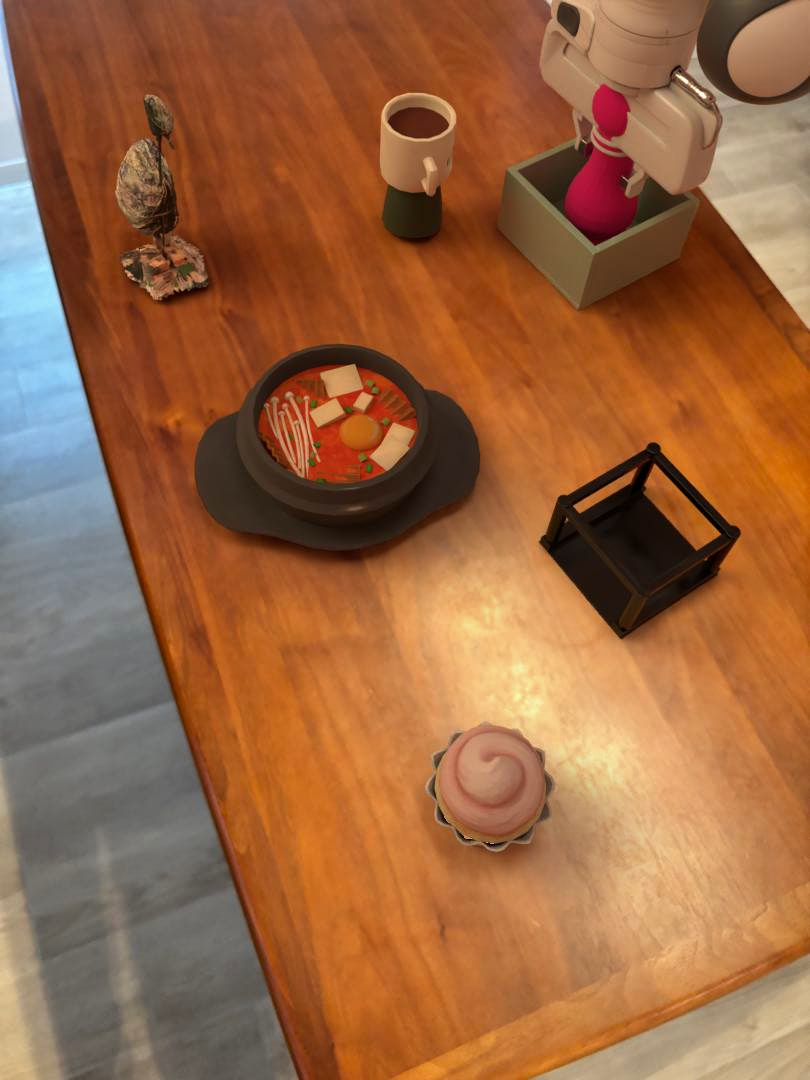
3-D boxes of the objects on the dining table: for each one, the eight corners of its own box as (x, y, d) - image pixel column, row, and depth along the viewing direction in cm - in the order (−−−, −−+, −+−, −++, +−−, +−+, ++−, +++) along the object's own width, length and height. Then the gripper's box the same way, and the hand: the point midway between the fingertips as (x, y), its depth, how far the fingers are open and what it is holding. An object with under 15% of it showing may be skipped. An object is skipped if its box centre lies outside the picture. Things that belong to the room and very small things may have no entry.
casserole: (208, 583, 83) (195, 532, 76) (187, 405, 92) (173, 344, 85) (499, 538, 87) (513, 485, 79) (452, 371, 96) (461, 309, 88)
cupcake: (537, 740, 78) (560, 693, 69) (551, 864, 73) (578, 831, 65) (417, 743, 77) (425, 697, 69) (423, 868, 73) (433, 835, 64)
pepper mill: (630, 263, 103) (682, 92, 85) (560, 261, 103) (597, 90, 85) (624, 213, 106) (673, 39, 89) (556, 210, 106) (591, 36, 89)
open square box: (595, 181, 110) (611, 121, 103) (678, 258, 104) (701, 201, 98) (496, 227, 105) (505, 168, 99) (577, 311, 100) (593, 254, 94)
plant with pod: (191, 216, 104) (159, 37, 87) (215, 295, 99) (186, 121, 82) (112, 231, 103) (64, 52, 85) (133, 312, 97) (85, 138, 80)
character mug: (459, 254, 103) (473, 148, 92) (393, 266, 102) (398, 160, 91) (429, 182, 108) (438, 74, 97) (365, 192, 107) (367, 84, 96)
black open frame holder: (633, 486, 91) (654, 438, 84) (716, 577, 86) (746, 533, 80) (537, 544, 87) (552, 498, 81) (619, 641, 83) (642, 601, 76)
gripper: (755, 94, 82) (703, 224, 94) (595, -34, 90) (566, 101, 102) (698, 120, 80) (653, 250, 92) (540, -13, 88) (517, 123, 100)
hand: (606, 171), depth 97 cm, fingers closed on pepper mill, 5 cm apart
